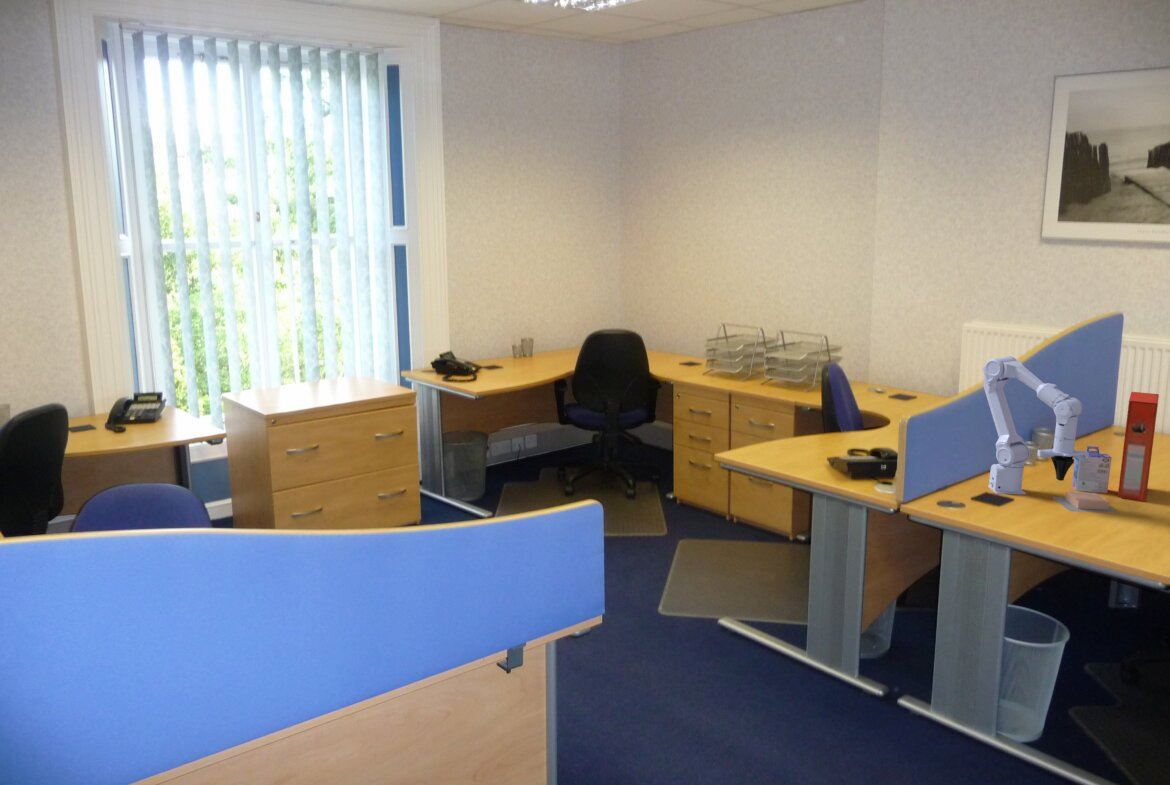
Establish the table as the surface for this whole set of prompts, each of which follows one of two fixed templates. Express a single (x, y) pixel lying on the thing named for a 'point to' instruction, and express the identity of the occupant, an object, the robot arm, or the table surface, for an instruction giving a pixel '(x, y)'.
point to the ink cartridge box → (1092, 472)
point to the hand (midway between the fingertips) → (1059, 479)
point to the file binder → (1138, 446)
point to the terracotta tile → (1087, 500)
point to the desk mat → (1073, 508)
